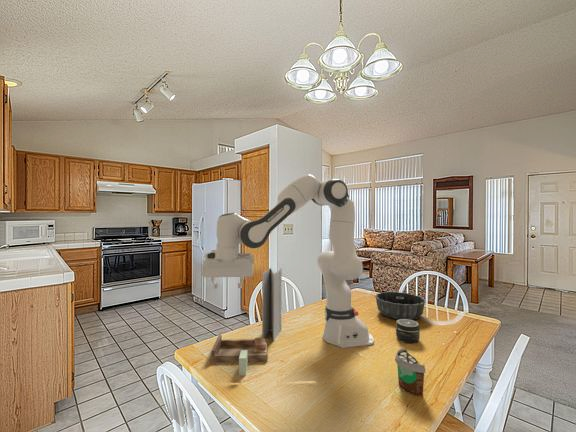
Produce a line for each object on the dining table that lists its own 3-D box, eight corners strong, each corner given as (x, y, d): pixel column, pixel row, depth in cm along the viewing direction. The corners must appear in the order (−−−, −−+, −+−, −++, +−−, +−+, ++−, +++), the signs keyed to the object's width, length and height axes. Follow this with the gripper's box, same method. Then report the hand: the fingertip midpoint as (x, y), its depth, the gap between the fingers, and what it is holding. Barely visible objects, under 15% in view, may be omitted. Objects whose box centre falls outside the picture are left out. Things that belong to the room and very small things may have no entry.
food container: (388, 376, 100) (388, 348, 100) (405, 376, 100) (405, 347, 100) (406, 399, 87) (406, 367, 87) (425, 398, 88) (425, 366, 88)
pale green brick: (247, 367, 106) (247, 350, 105) (245, 376, 100) (245, 358, 99) (241, 367, 105) (241, 350, 105) (238, 377, 99) (238, 358, 99)
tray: (268, 345, 123) (268, 334, 123) (267, 362, 109) (267, 349, 109) (218, 346, 122) (218, 335, 122) (211, 364, 108) (211, 350, 108)
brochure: (274, 342, 126) (274, 274, 126) (262, 341, 127) (262, 273, 127) (281, 329, 140) (281, 268, 140) (270, 328, 141) (270, 267, 141)
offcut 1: (264, 342, 120) (264, 337, 120) (265, 349, 113) (265, 344, 113) (254, 343, 119) (254, 338, 119) (255, 350, 113) (255, 345, 113)
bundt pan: (383, 304, 179) (383, 288, 179) (430, 313, 164) (430, 295, 164) (368, 317, 158) (368, 298, 158) (420, 328, 142) (420, 308, 142)
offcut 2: (266, 347, 120) (266, 342, 120) (265, 357, 112) (265, 351, 112) (255, 348, 120) (255, 342, 120) (254, 357, 112) (254, 352, 112)
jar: (423, 339, 130) (423, 322, 130) (415, 346, 122) (415, 328, 122) (400, 333, 137) (401, 316, 137) (392, 339, 129) (392, 322, 129)
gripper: (254, 252, 119) (254, 285, 119) (204, 252, 118) (204, 286, 118) (253, 254, 112) (253, 289, 113) (200, 254, 111) (200, 290, 111)
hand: (227, 287), depth 115 cm, fingers open, 8 cm apart
